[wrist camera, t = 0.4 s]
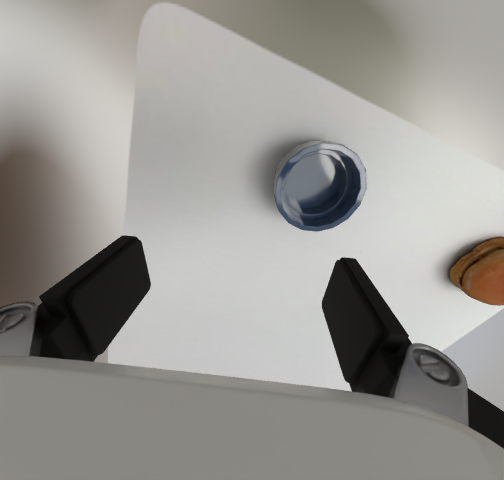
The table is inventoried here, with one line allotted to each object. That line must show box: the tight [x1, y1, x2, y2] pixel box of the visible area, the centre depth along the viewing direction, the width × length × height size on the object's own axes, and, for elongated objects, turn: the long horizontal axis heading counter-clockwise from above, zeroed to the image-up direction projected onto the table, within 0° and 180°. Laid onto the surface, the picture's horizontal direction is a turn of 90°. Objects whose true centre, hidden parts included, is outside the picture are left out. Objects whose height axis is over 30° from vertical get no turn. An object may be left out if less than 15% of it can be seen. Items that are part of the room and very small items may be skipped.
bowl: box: [274, 140, 366, 231], centre depth 23 cm, size 9×9×5 cm
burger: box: [450, 237, 504, 305], centre depth 27 cm, size 10×9×5 cm
